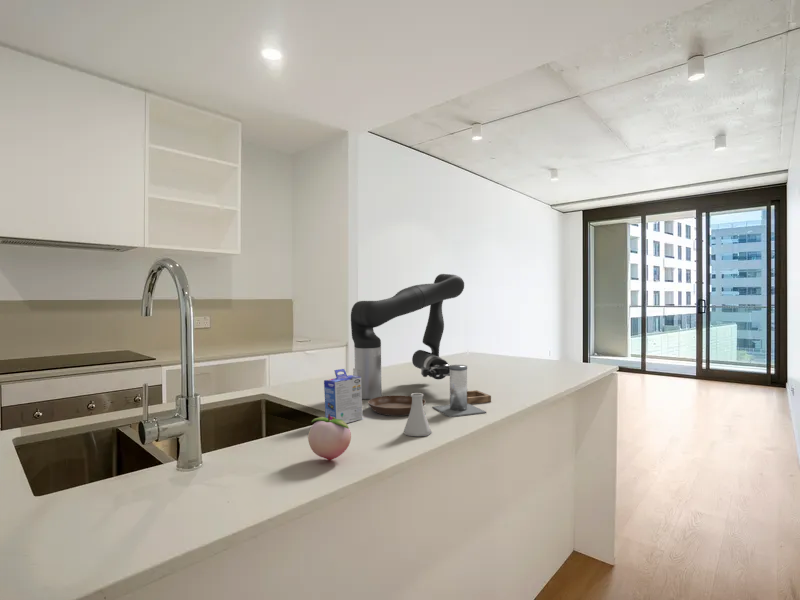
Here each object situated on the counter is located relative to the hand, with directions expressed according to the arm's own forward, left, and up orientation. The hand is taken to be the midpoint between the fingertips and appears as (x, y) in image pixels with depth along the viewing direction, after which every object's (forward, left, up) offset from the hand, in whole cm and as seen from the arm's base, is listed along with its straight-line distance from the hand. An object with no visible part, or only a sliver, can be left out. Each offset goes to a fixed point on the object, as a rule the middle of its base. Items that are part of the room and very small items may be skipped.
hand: (448, 374), depth 150 cm
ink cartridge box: (-37, -9, -9) cm, 39 cm away
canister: (-2, -11, -8) cm, 14 cm away
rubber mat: (-2, -11, -9) cm, 14 cm away
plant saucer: (-19, -3, -9) cm, 21 cm away
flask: (-22, -27, -9) cm, 36 cm away
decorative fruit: (-47, -38, -9) cm, 61 cm away
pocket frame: (+8, -1, -9) cm, 12 cm away
